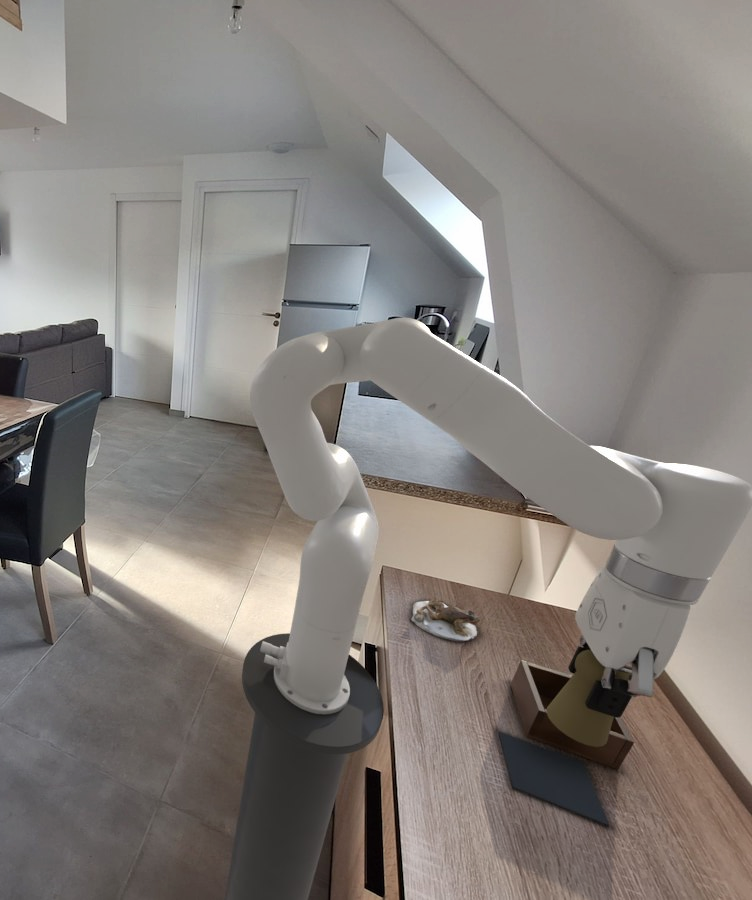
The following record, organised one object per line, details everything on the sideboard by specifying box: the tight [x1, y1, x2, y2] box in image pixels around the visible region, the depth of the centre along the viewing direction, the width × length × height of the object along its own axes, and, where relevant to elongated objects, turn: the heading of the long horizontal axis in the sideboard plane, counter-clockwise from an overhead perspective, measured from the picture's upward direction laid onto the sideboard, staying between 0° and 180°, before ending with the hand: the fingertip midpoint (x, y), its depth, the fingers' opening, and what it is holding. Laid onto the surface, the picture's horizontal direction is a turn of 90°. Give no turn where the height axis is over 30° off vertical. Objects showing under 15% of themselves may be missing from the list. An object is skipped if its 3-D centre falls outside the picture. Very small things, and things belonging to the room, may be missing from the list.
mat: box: [498, 731, 610, 827], centre depth 63 cm, size 10×9×1 cm
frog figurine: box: [410, 597, 481, 642], centre depth 91 cm, size 12×12×4 cm
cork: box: [546, 650, 630, 747], centre depth 57 cm, size 6×6×11 cm
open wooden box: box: [510, 659, 635, 770], centre depth 69 cm, size 11×11×6 cm
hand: (592, 691), depth 57 cm, fingers closed on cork, 5 cm apart
